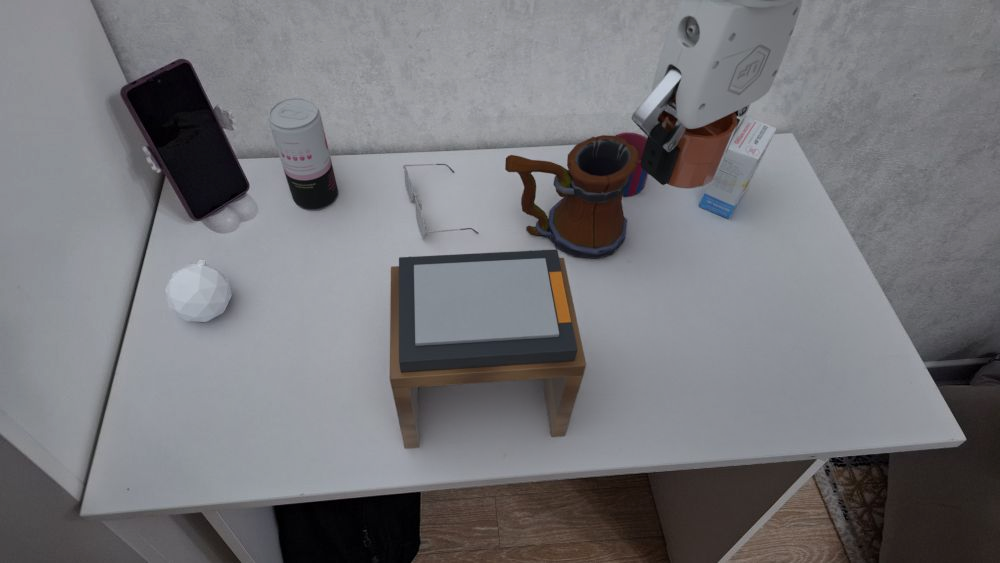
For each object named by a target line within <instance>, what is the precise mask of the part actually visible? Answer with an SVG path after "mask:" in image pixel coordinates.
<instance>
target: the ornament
mask: <svg viewBox="0 0 1000 563" xmlns="http://www.w3.org/2000/svg"><path fill="white" fill-rule="evenodd" d="M164 292H165V297H166V300H167V306H168V309H169V310H171V311H172V312H173V313H175V315H176V316H178V317H180V318H181V319H182V320H184V321H185V322H199V323H200V322H201V323H208V322H209V321H211V320H212V319H214V318H217V317H218V316H220V315H222V314H224V313H225V311H226V309H227V307H228V305H229V302H230V300H231V298H232V296H233V294H232V290H231V286H230V282H229V278H228V277H227V276H226V275H225V274H224V273H223V272H221V271H220V270H219V269H218V268H216V267H215V266H214V265H212V264H207V261H206V260H205V259H199V260H197V263H190V264H187V265H185V266H184V267H182V268H179V269H178V270H176V271H174V272H173V273H172V275H171V277H170V279H169V281H168V283H167V285H166V286H165V289H164Z"/></svg>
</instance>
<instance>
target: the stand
mask: <svg viewBox="0 0 1000 563" xmlns="http://www.w3.org/2000/svg"><path fill="white" fill-rule="evenodd" d="M559 261H560V266H561V270H562V275H563V280H564V285H565V290H566V295H567V300H568V305H569V310H570V315H571V320H572V325H573V330H574V335H575V340H576V345H577V349H578V350H577V354H576V358H575V361H568V362H553V363H538V364H524V365H509V366H494V367H479V368H464V369H450V370H435V371H420V372H405V373H401V371H400V366H399V265H396V266H395V265H393V266H391V267H390V298H389V299H390V303H389V305H390V306H389V308H390V310H389V311H390V313H389V314H390V315H389V383H390V387H391V390H392V391H391V392H392V395H393V396H392V397H393V400H394V405H395V410H396V414H397V419H398V424H399V429H400V434H401V438H402V444H403V447H404V449H417V448H420V428H419V426H420V424H419V420H420V419H419V388H425V387H440V386H453V385H456V386H457V385H469V384H483V383H484V384H485V383H497V382H512V381H524V380H527V381H528V380H542V387H543V393H544V400H545V405H546V411H547V412H546V413H547V417H548V418H547V419H548V424H549V431H550V436H551V438H557V437H565V436H566V435H567V431H568V428H569V424H570V420H571V417H572V414H573V410H574V407H575V404H576V401H577V397H578V394H579V391H580V388H581V384H582V381H583V377H584V374H585V371H586V367H587V362H586V358H585V357H586V356H585V353H584V348H583V343H582V339H581V333H580V329H579V328H580V327H579V324H578V320H577V315H576V310H575V304H574V300H573V296H572V290H571V286H570V281H569V276H568V271H567V267H566V262H565V257H559Z"/></svg>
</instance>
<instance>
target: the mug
mask: <svg viewBox="0 0 1000 563" xmlns="http://www.w3.org/2000/svg"><path fill="white" fill-rule="evenodd" d="M639 155H640V154H639V152H638V151H637V149H636V148H635V146H633V145H630V144H629V143H628V142H627V140H624V139H622V138H620V137H618V136H615V135H607V134H602V135H598V136H592V137H589V138H587V139H585V140H584V141H581V142H579V143H577V144H576V145H575V146H574V147H573V148H572V149H571V150H570V151H569V153H567V158H566V159H567V160H566V161H567V162H566V166H567V168H566V167H564V166H562V165H561V164H558V163H555V162H552V161H547V160H539V159H530V158H527V157H523V156H519V155H515V154H510V155H507V156H506V157H505V165H504V166H505V168H504V169H505V171H506V172H507V173H517V174H518V175H519V177H520V180H521V182H522V185H523V191H522V195H521V199H520V206H521V209H522V212H523V213H524V214H526V215H528V216H530V217H533V218H535V219H536V220H537V221H536V222H535V225H534V226H533V225H527V226H526V227H525V230H526V232H527V233H528V234H529V235H531V236H541V235H543V236H545V237H549V238H550V240H551V242H552V243H553V245H554V248H556V249H557V250H560V251H562V252H564V253H566V254H569V255H570V256H573V257H575V258H588V259H598V258H599V259H600V258H603V257H610V256H613V254H614V253H615V252H617V250H618V249H619V248H620V247H621V246H622V245H623V244H624V242H625V241H626V237H627V228H628V219H627V218H626V217H625V213H624V208H623V202H622V201H623V197H624V196H623V191H624V190H625V188H626V187H627V186H628V185H629V177H630V176H631V174H632V173H633V172H634V170H635V169H636V168H637V165H638V164H639ZM532 173H543V174H550V175H555V176H554V177H553V178H554V179H553V187H555V191H556V193H557V195H558V196H559V197H561V198H560V200H559V201H557V202H556V204H554V205H553V206H552V207H551V208H550V209H549V212H548V215H547V213H546V212H545V211H544V210H543V209H542V208H541V207H540V206H538V205H537V204H535V200H536V194H537V182H536V179H535V177H534V175H533V174H532Z"/></svg>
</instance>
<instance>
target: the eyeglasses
mask: <svg viewBox="0 0 1000 563" xmlns="http://www.w3.org/2000/svg"><path fill="white" fill-rule="evenodd" d="M417 166H418V167H420V166H446V167H447V168H448V169H449V170H450V171H451V172H452V173H453V174H455V171H454V170H453V169H452V167H450V166H449V165H448V164H447V163H422V164H421V163H419V164H403V165H402V167H403V169H404V170H403V171H404V183H405V184H404V185H405V190H406V193H407V196H408V199H409V201H410V202H411V203H413V200H414V202H415V203H414V204H415V218H416V224H417V227H418V231H419V233H420V236H421V239H423V240H424V239H425V236H426V235H425V234H435V233H443V232H444V233H445V232H453V231H465V230H466V231H467V230H472V231H473V232H474V233H475V234H477V235H478V234H479V232H478V231H477V230H476V229H474V228H472V227H466V228H457V229H443V230H441V229H440V230H426V224H425V220H424V217H423V214H422V209H423V203H422V202H418V197H419V192H414V187H413V184H412V181H411V178H410V175H409V171H408V169H407V167H417Z"/></svg>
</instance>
